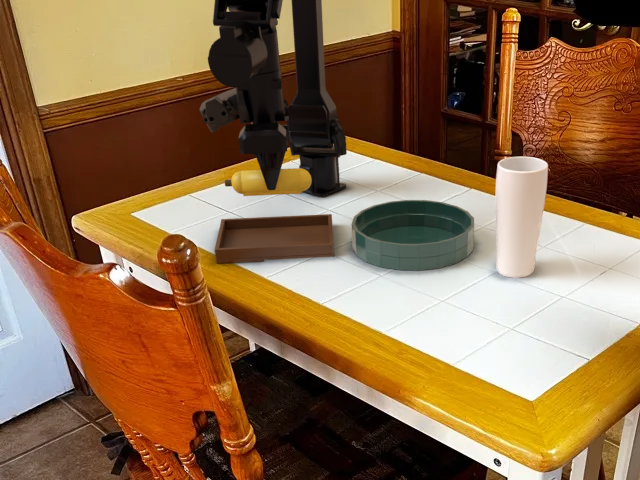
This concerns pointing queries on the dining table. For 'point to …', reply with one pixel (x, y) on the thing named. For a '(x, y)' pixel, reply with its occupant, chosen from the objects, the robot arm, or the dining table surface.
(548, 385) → the dining table surface
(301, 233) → the tray
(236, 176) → the yellow gas canister
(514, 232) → the drinking glass
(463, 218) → the green round cake pan
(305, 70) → the robot arm
